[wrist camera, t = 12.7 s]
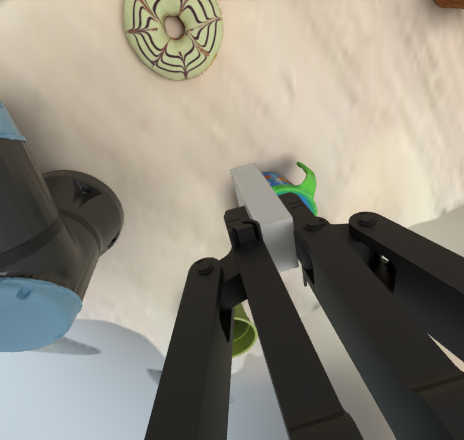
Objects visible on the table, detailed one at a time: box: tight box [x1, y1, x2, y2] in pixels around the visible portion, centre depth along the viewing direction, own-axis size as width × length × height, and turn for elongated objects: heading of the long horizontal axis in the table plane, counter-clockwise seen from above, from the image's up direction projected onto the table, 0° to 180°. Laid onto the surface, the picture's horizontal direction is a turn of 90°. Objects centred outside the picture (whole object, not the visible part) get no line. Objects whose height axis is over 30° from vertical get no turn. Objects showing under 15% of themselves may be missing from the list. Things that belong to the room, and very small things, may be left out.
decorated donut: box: [123, 0, 223, 80], centre depth 35 cm, size 11×12×4 cm
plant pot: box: [232, 303, 258, 358], centre depth 57 cm, size 12×12×11 cm
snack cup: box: [262, 162, 317, 217], centre depth 47 cm, size 16×10×10 cm
